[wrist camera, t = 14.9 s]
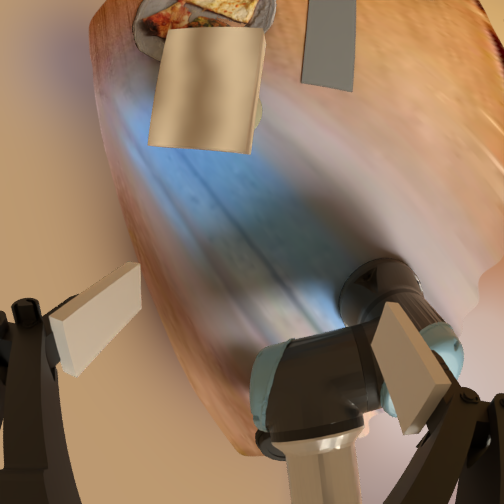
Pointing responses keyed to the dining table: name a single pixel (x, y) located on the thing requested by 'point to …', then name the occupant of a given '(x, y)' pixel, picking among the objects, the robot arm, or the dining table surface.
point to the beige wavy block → (208, 89)
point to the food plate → (194, 18)
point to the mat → (330, 44)
